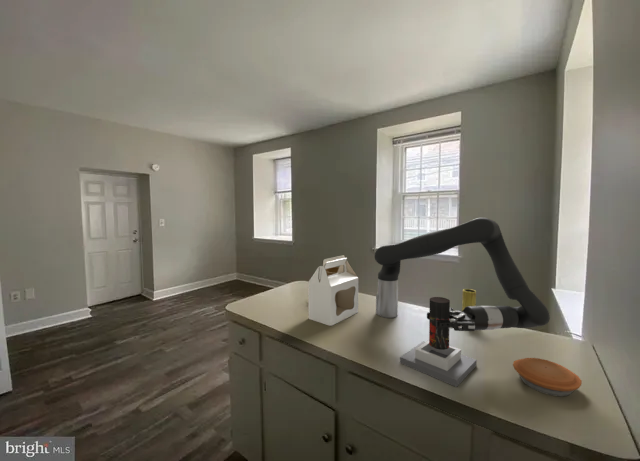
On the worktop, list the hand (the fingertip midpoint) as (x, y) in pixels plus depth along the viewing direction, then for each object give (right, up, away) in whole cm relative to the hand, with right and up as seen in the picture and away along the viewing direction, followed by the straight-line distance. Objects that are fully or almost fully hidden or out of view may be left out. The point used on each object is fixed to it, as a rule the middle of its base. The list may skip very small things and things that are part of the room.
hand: (431, 319), depth 92 cm
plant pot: (-26, -10, +73) cm, 78 cm away
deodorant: (+3, -9, +1) cm, 9 cm away
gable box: (-29, -12, +44) cm, 54 cm away
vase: (+30, -12, +36) cm, 48 cm away
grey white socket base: (+2, -15, +1) cm, 15 cm away
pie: (+29, -16, -9) cm, 34 cm away
